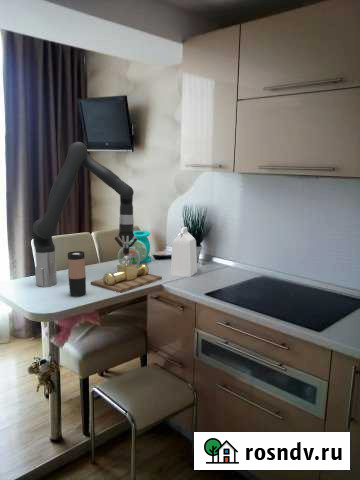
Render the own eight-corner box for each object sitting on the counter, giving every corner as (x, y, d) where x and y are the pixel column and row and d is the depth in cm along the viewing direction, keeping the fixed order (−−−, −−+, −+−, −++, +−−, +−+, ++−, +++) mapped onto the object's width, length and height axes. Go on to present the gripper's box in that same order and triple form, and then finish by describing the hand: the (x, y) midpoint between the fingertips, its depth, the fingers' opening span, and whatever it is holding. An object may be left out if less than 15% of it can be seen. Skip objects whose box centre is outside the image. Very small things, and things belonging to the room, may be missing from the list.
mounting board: (120, 293, 184) (120, 289, 184) (90, 284, 198) (90, 281, 197) (162, 279, 208) (161, 276, 207) (132, 272, 221) (132, 270, 221)
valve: (153, 230, 248) (137, 245, 220) (154, 257, 254) (139, 274, 226) (132, 230, 252) (114, 244, 224) (134, 255, 257) (116, 273, 229)
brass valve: (111, 287, 189) (110, 265, 187) (101, 285, 194) (101, 263, 192) (150, 275, 211) (149, 255, 209) (140, 273, 215) (140, 253, 213)
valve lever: (123, 260, 199) (122, 255, 199) (131, 254, 215) (131, 249, 214) (128, 260, 199) (128, 255, 198) (136, 254, 214) (136, 249, 214)
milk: (190, 276, 212) (190, 229, 208) (170, 275, 216) (170, 228, 211) (197, 271, 223) (197, 226, 219) (178, 269, 227) (178, 225, 223)
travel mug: (72, 292, 186) (70, 251, 182) (88, 292, 186) (86, 251, 182) (67, 297, 178) (65, 254, 175) (83, 297, 178) (81, 254, 174)
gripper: (112, 223, 206) (112, 255, 209) (136, 224, 204) (136, 256, 207) (116, 221, 213) (116, 252, 216) (140, 222, 211) (139, 253, 214)
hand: (126, 254), depth 211 cm, fingers closed
